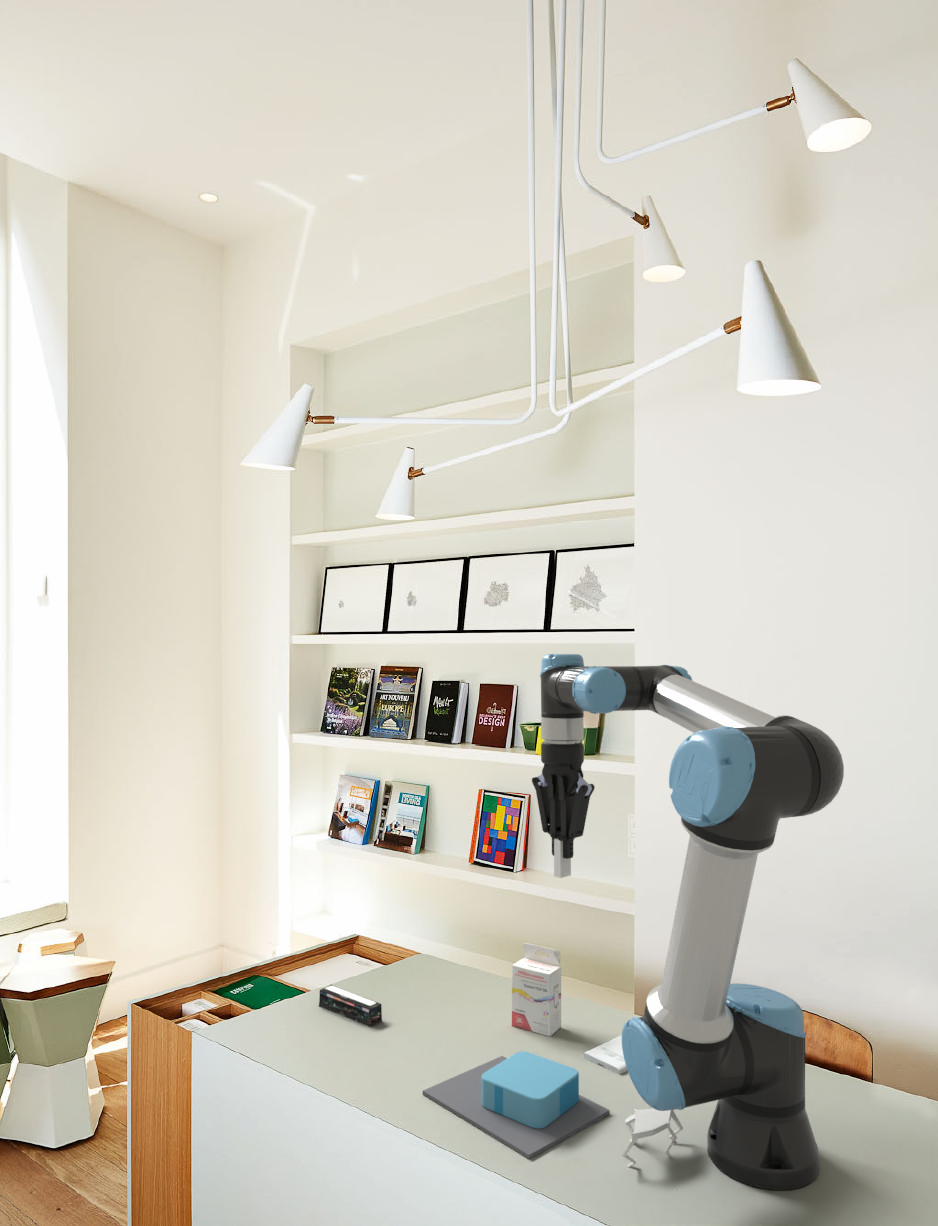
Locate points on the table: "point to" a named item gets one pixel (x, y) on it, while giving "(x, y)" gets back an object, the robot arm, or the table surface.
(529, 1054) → the data package
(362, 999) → the bus
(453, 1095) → the mat
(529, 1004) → the ink cartridge box
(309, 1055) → the table surface
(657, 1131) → the origami figure
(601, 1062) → the external hard drive
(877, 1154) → the table surface
